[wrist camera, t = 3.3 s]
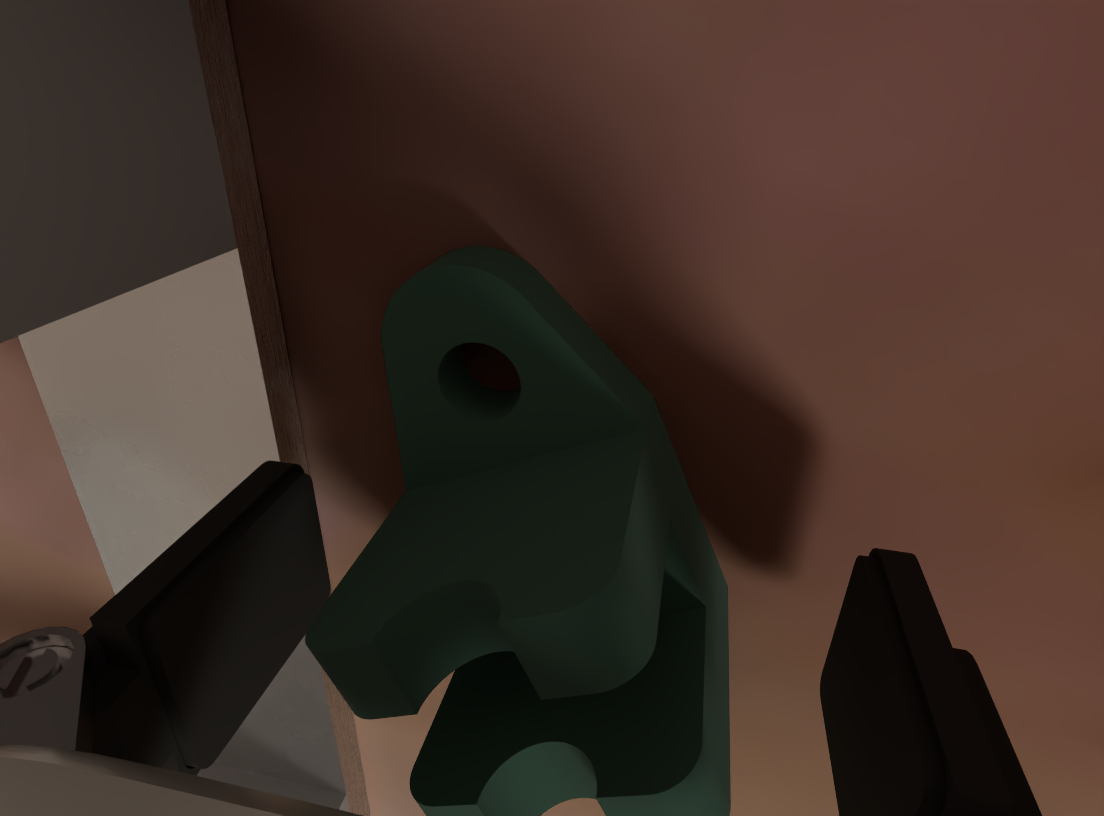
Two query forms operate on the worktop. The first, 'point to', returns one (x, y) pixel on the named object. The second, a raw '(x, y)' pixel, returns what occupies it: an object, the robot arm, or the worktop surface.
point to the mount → (534, 568)
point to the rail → (196, 425)
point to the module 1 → (102, 155)
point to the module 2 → (276, 786)
